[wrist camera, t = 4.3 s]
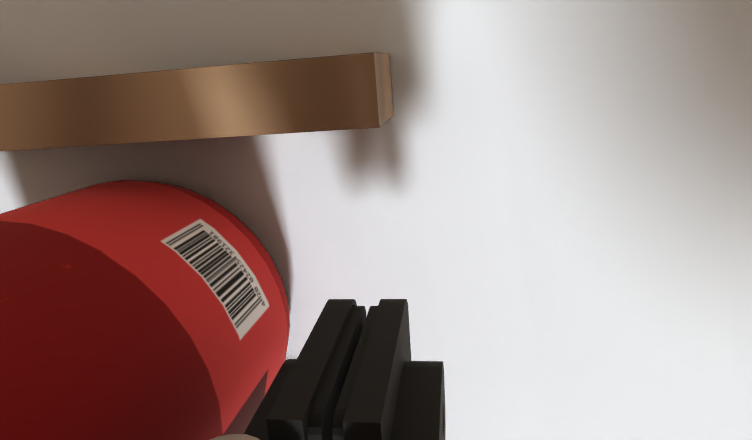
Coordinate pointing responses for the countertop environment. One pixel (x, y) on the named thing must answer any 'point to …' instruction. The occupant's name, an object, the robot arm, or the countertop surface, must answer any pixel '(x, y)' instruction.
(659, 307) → the countertop surface
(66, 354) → the canned food
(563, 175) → the countertop surface
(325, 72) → the guide channel
